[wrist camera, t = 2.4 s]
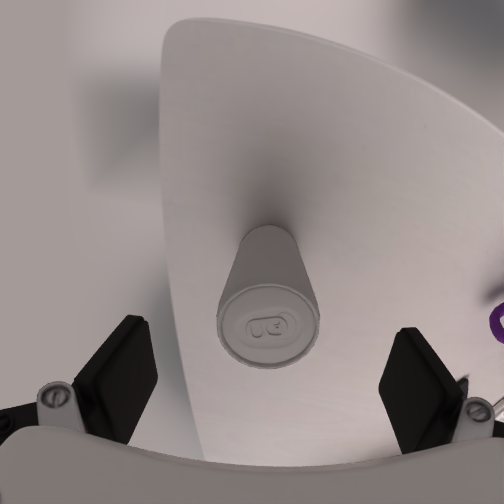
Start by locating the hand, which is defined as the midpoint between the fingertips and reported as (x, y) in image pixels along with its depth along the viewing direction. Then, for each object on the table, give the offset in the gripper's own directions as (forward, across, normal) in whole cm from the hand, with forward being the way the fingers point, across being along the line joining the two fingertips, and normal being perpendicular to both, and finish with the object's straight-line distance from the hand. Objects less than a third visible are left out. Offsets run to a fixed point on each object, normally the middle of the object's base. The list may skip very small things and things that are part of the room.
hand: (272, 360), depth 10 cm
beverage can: (+15, 0, 0) cm, 15 cm away
